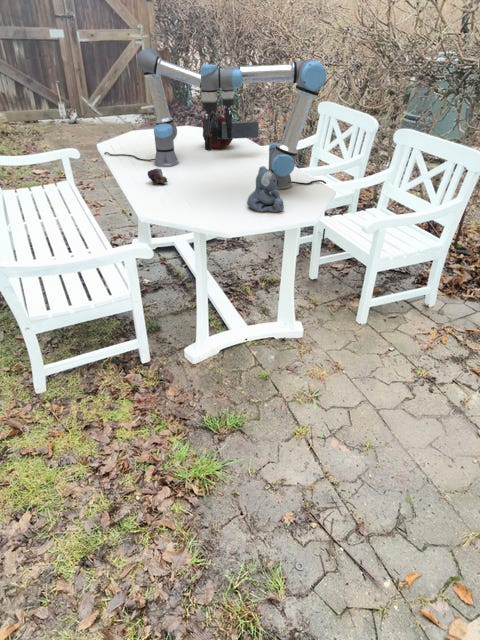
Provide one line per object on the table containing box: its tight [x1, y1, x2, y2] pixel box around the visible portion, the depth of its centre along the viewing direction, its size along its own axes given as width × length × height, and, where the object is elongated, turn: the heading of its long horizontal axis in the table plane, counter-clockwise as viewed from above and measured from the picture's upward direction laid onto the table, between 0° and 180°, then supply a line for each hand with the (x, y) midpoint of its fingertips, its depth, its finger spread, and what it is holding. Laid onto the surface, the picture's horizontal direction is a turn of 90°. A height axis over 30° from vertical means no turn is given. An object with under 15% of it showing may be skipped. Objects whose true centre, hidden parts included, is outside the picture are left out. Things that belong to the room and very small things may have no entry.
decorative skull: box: [200, 116, 233, 152], centre depth 325 cm, size 21×24×25 cm
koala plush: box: [246, 165, 285, 213], centre depth 222 cm, size 17×18×20 cm
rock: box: [147, 168, 168, 185], centre depth 259 cm, size 12×9×10 cm
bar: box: [222, 120, 260, 140], centre depth 296 cm, size 24×5×10 cm, turn 100°
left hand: (228, 137), depth 297 cm, fingers closed on bar, 5 cm apart
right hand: (211, 146), depth 230 cm, fingers open, 13 cm apart
